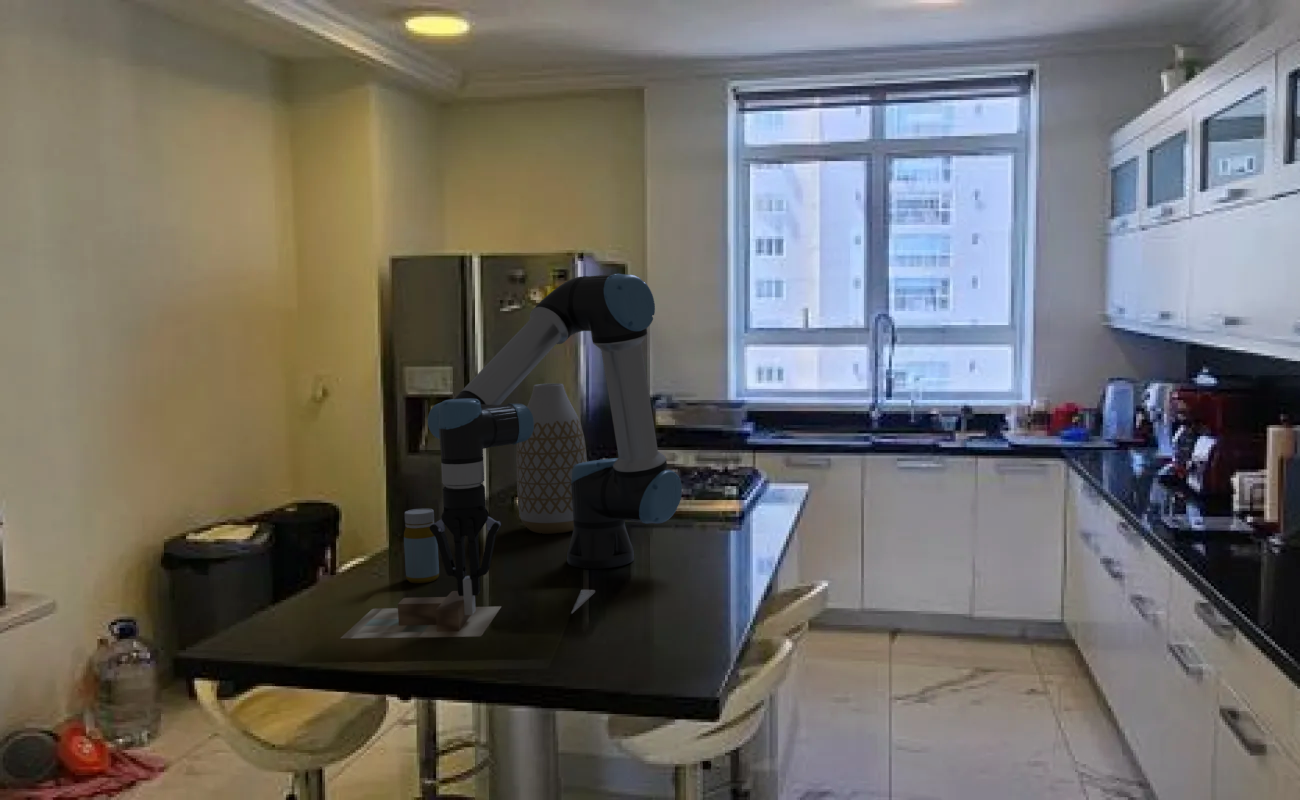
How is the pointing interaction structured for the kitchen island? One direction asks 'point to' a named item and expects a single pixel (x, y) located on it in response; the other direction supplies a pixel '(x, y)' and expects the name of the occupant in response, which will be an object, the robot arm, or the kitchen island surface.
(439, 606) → the t block
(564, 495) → the vase
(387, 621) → the board
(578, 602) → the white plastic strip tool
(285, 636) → the kitchen island surface
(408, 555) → the bottle
